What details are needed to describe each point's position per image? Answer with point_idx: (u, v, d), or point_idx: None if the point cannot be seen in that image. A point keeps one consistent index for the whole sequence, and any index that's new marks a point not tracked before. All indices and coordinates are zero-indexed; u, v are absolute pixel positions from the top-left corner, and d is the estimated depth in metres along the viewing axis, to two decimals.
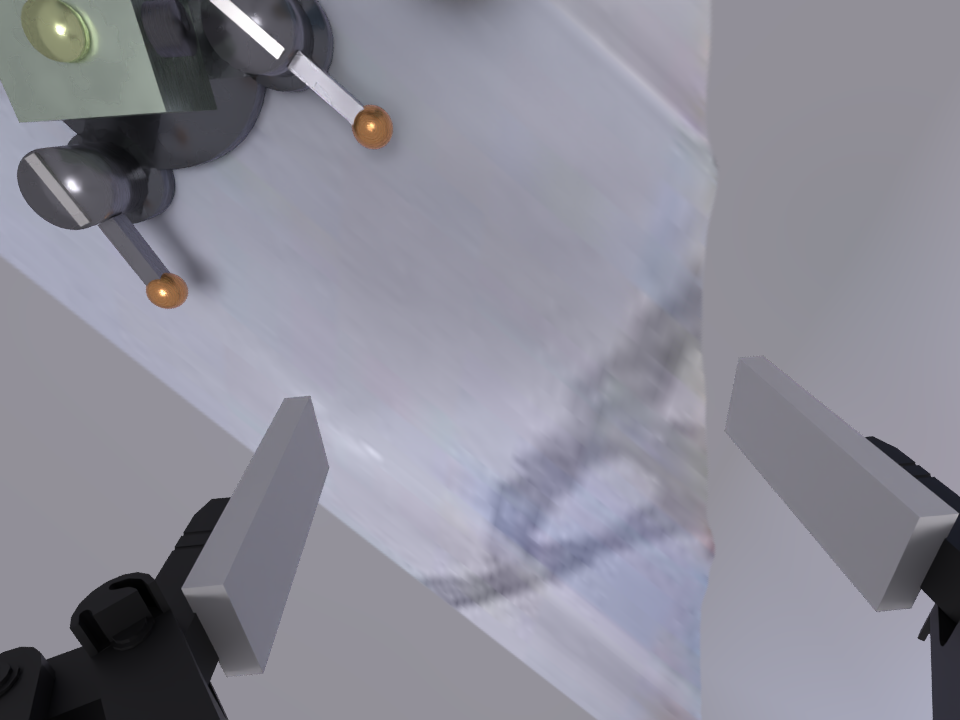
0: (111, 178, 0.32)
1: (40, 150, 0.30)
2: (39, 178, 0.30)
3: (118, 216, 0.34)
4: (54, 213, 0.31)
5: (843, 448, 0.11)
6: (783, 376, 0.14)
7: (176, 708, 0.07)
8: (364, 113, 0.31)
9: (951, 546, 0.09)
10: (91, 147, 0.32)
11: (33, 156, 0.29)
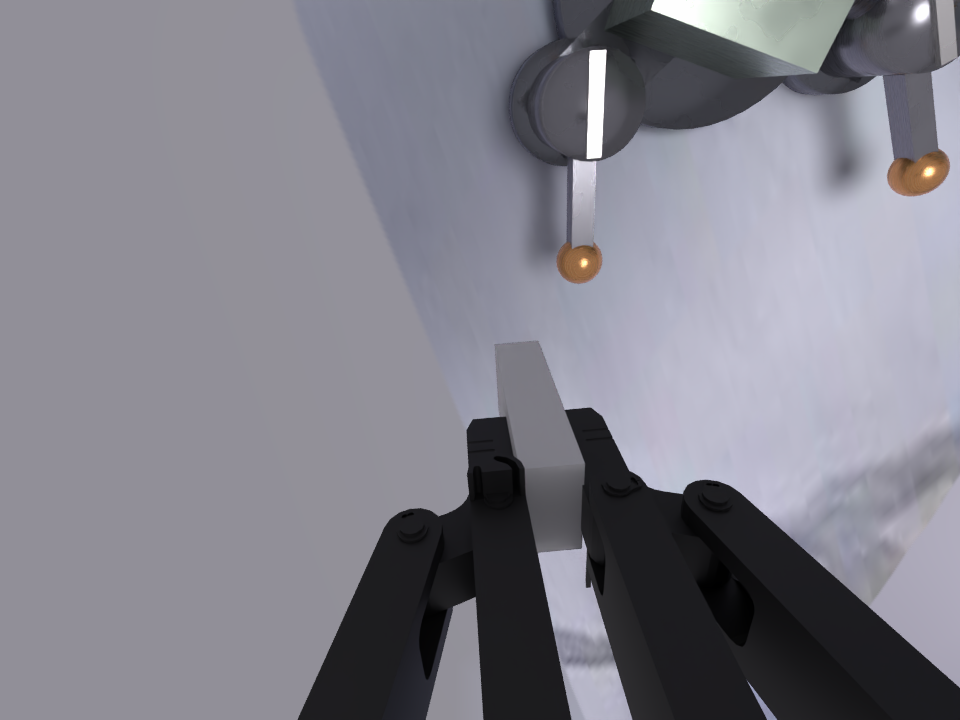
0: None
1: (609, 49, 0.22)
2: (583, 82, 0.23)
3: None
4: (564, 130, 0.24)
5: (538, 415, 0.13)
6: (540, 358, 0.16)
7: (518, 571, 0.09)
8: (939, 156, 0.26)
9: (584, 491, 0.11)
10: None
11: (602, 53, 0.22)
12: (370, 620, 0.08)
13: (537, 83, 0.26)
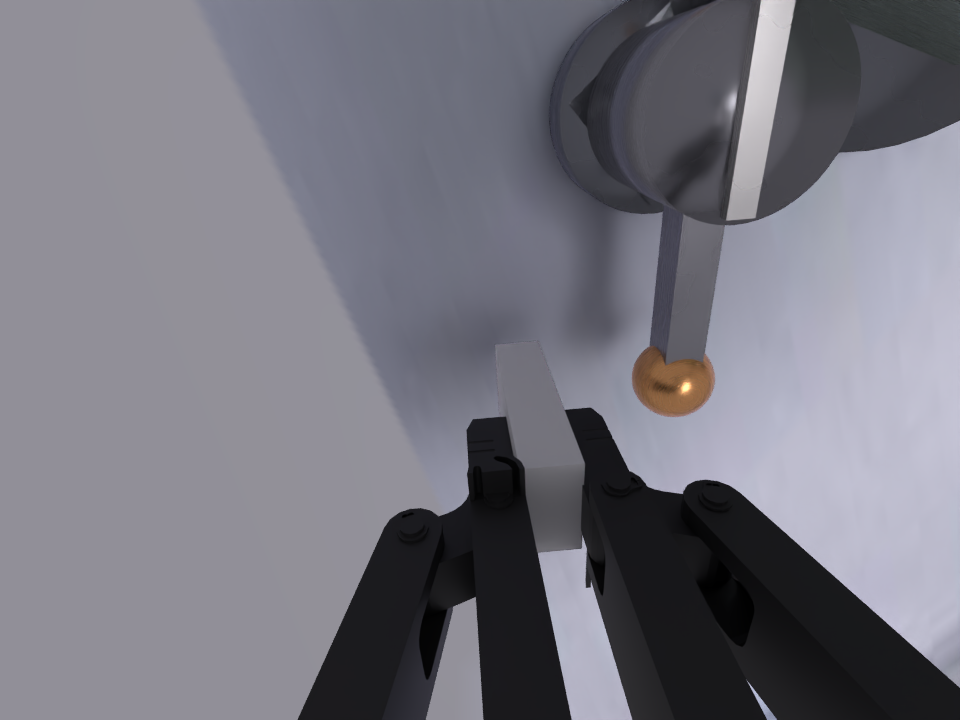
0: None
1: None
2: (735, 64, 0.11)
3: None
4: (683, 165, 0.12)
5: (538, 415, 0.13)
6: (540, 358, 0.16)
7: (518, 571, 0.09)
8: None
9: (583, 491, 0.11)
10: None
11: (787, 0, 0.10)
12: (370, 620, 0.08)
13: (615, 71, 0.14)
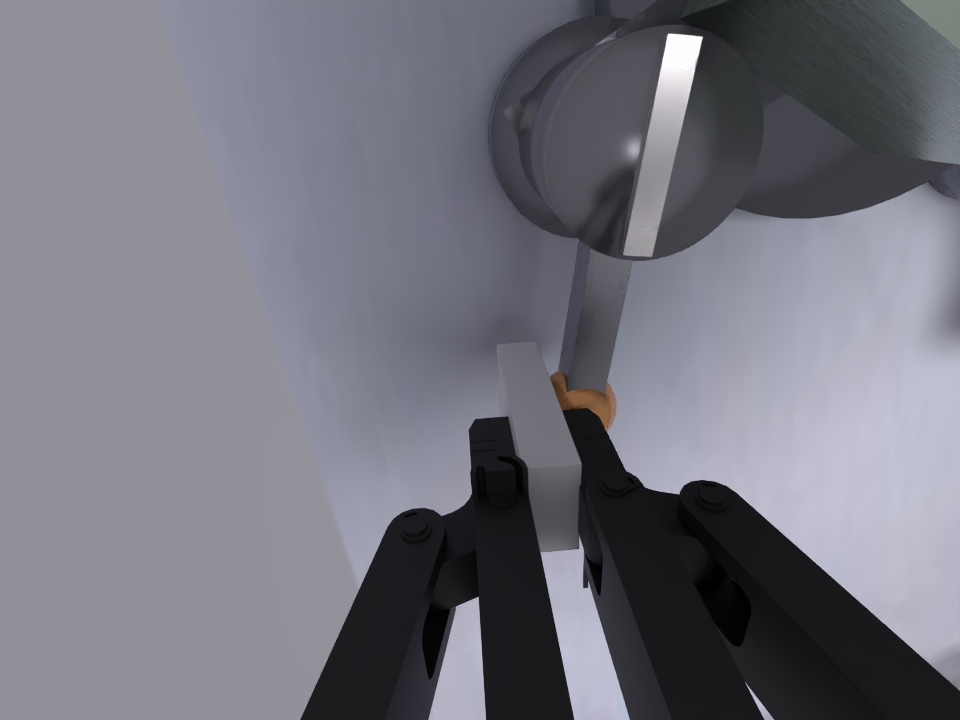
0: None
1: (708, 38, 0.10)
2: (640, 100, 0.10)
3: None
4: (585, 193, 0.11)
5: (535, 415, 0.13)
6: (537, 358, 0.16)
7: (521, 571, 0.09)
8: None
9: (580, 491, 0.11)
10: None
11: (692, 44, 0.10)
12: (373, 619, 0.08)
13: (542, 90, 0.13)
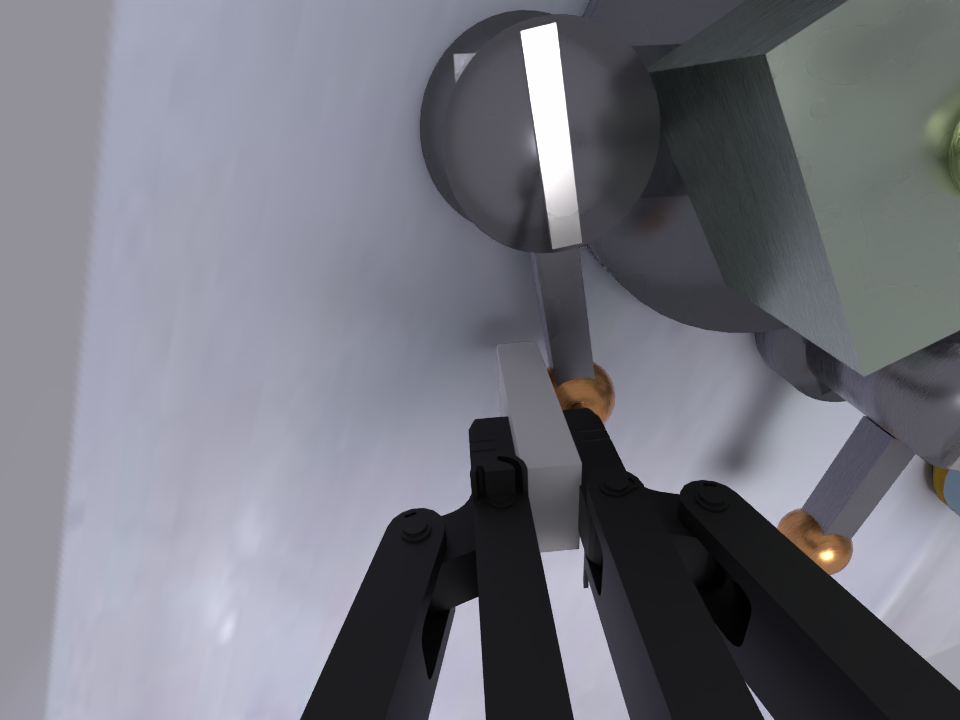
0: None
1: (565, 20, 0.10)
2: (518, 100, 0.10)
3: None
4: (497, 202, 0.11)
5: (535, 415, 0.13)
6: (537, 358, 0.16)
7: (521, 571, 0.09)
8: (848, 547, 0.19)
9: (580, 492, 0.11)
10: None
11: (548, 32, 0.10)
12: (373, 619, 0.08)
13: None
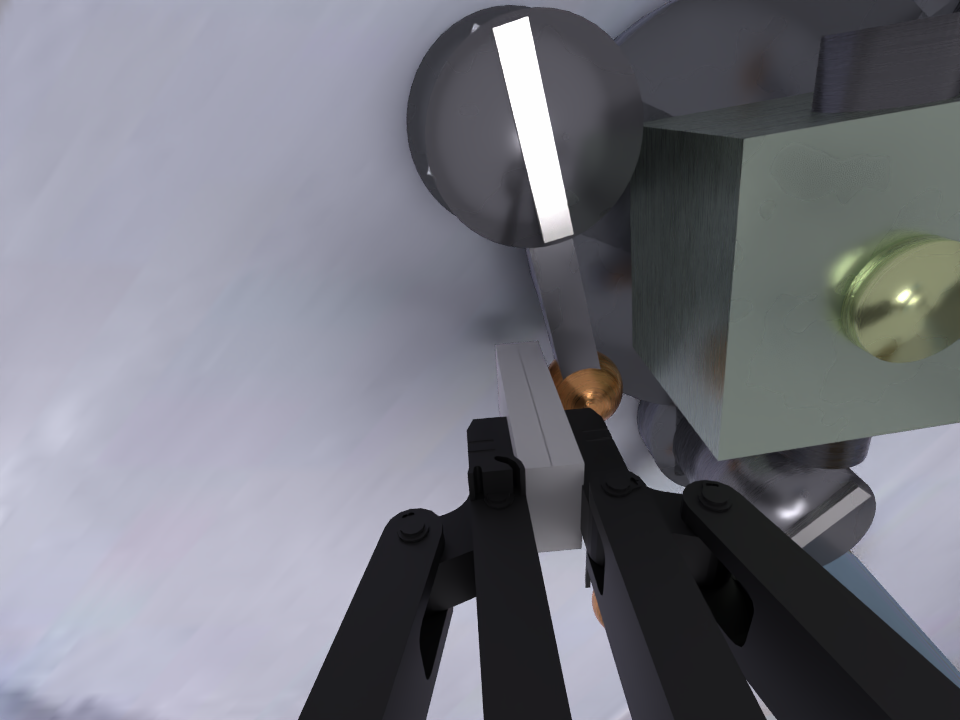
0: None
1: (537, 13, 0.10)
2: (497, 97, 0.10)
3: None
4: (485, 200, 0.12)
5: (537, 415, 0.13)
6: (539, 358, 0.16)
7: (518, 571, 0.09)
8: None
9: (583, 491, 0.11)
10: None
11: (521, 27, 0.10)
12: (370, 620, 0.08)
13: None
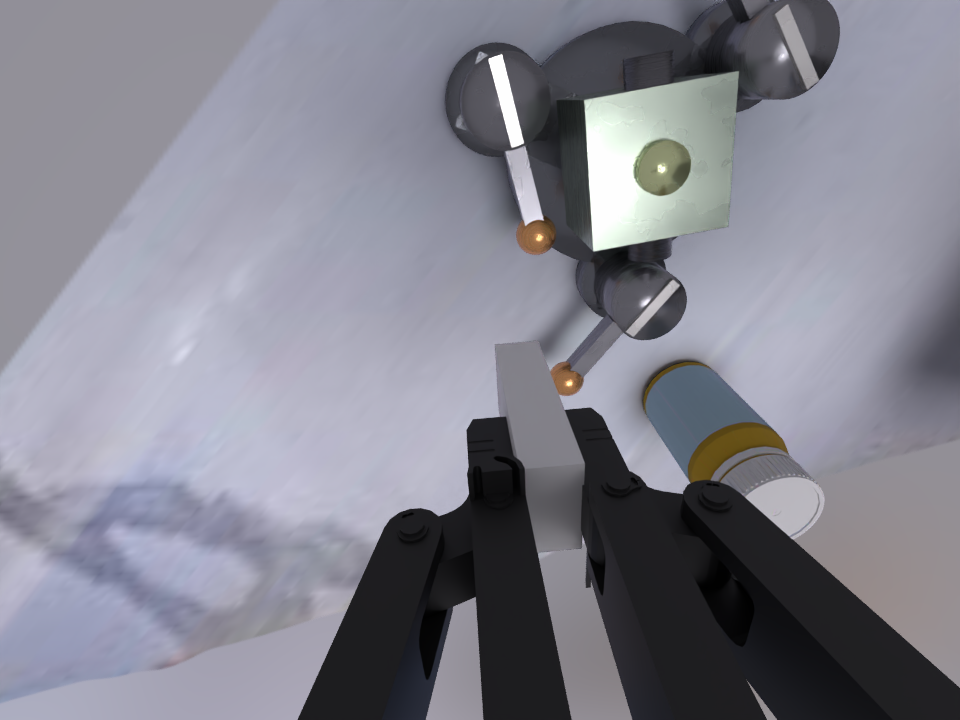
0: None
1: (505, 52, 0.26)
2: (490, 85, 0.26)
3: None
4: (486, 129, 0.27)
5: (538, 415, 0.13)
6: (540, 358, 0.16)
7: (518, 571, 0.09)
8: (579, 380, 0.37)
9: (584, 491, 0.11)
10: None
11: (499, 58, 0.26)
12: (370, 620, 0.08)
13: (460, 93, 0.29)
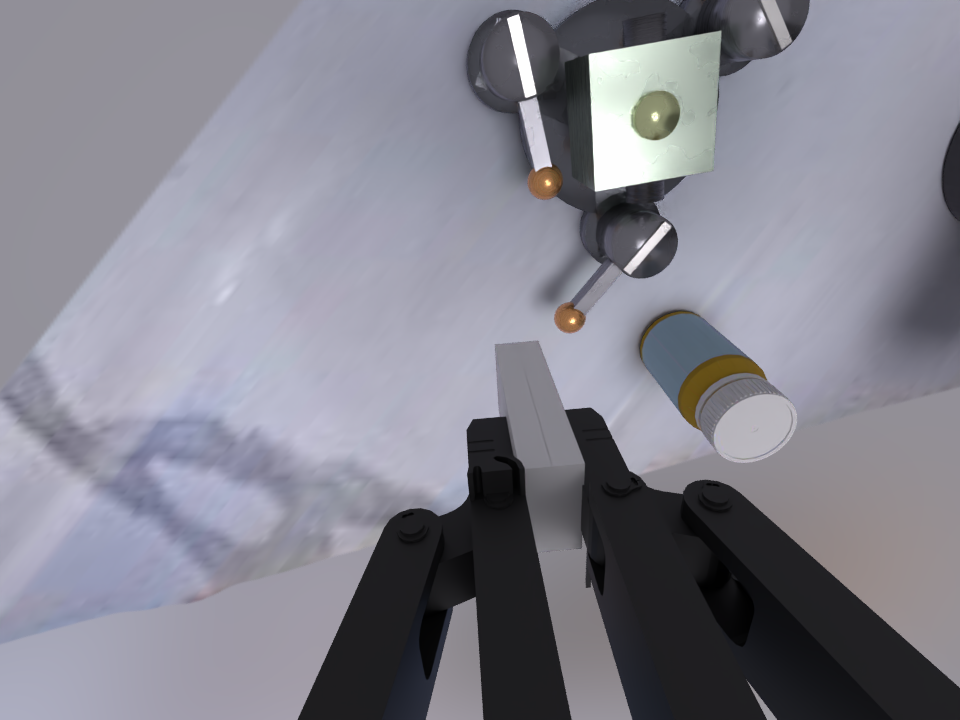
0: None
1: (522, 13, 0.30)
2: (508, 42, 0.31)
3: None
4: (504, 81, 0.32)
5: (538, 415, 0.13)
6: (539, 357, 0.16)
7: (518, 571, 0.09)
8: (582, 317, 0.41)
9: (583, 491, 0.11)
10: None
11: (516, 18, 0.30)
12: (370, 620, 0.08)
13: (481, 52, 0.34)
